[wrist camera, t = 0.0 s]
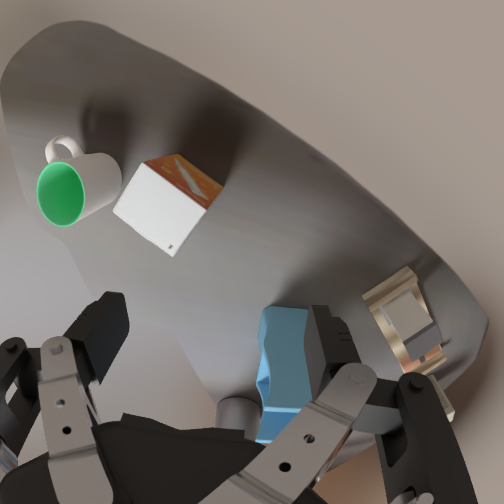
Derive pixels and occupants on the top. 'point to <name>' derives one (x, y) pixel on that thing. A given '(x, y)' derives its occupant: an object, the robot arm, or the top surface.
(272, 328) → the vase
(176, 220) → the small box
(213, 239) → the top surface
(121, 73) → the top surface
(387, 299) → the fader track
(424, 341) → the fader knob
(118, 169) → the mug
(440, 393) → the skincare box
